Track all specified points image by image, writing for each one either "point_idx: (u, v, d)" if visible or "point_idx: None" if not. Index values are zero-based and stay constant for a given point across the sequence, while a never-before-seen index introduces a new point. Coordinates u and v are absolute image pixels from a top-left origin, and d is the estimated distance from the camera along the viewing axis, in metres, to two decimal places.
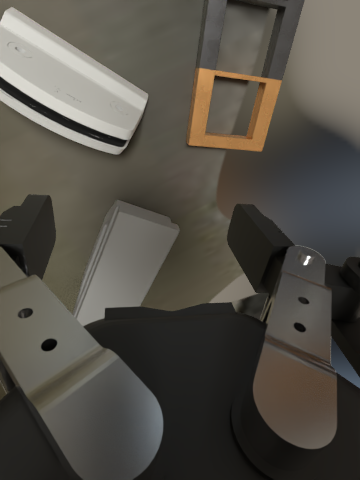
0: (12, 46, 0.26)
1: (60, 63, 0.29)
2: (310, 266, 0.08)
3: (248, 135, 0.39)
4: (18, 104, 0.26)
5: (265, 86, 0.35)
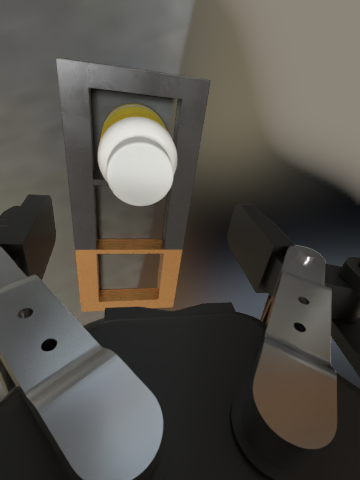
0: None
1: None
2: (310, 266, 0.08)
3: (157, 289, 0.34)
4: None
5: (163, 256, 0.30)
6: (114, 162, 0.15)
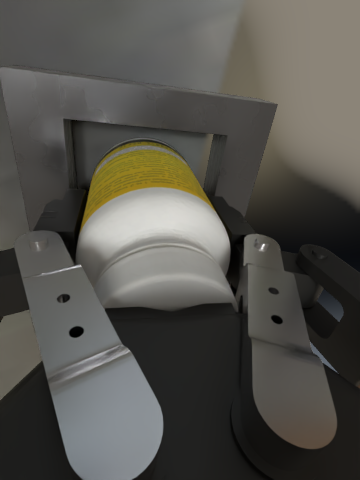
0: None
1: None
2: (263, 252, 0.09)
3: None
4: None
5: None
6: None
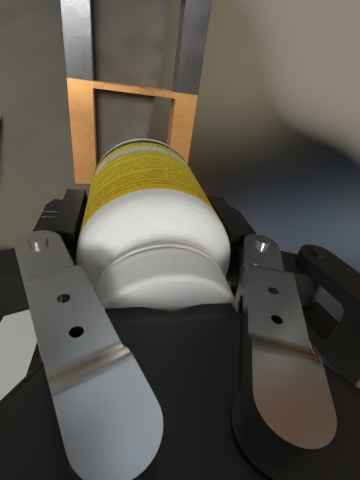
0: None
1: None
2: (263, 252, 0.09)
3: None
4: None
5: (174, 104, 0.24)
6: None
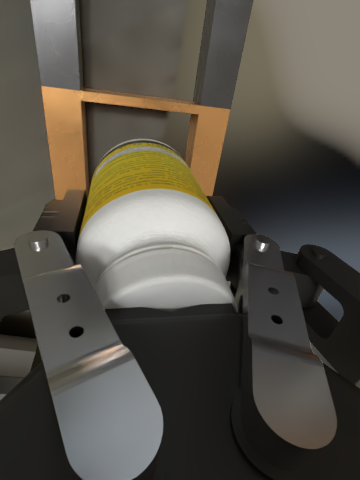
0: None
1: None
2: (263, 252, 0.09)
3: None
4: None
5: (197, 121, 0.17)
6: None
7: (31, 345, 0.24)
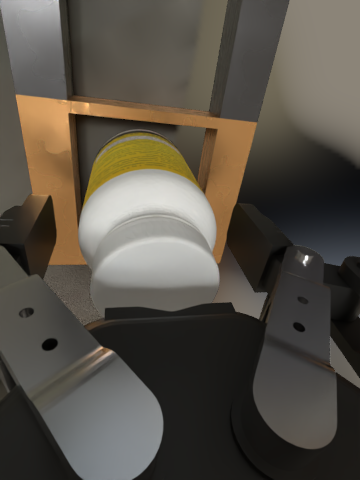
0: None
1: None
2: (309, 265, 0.08)
3: None
4: None
5: (216, 137, 0.14)
6: (104, 274, 0.07)
7: None
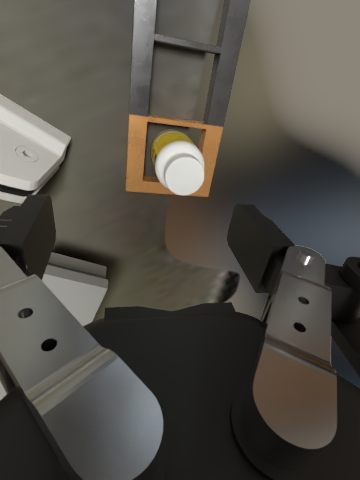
0: None
1: None
2: (310, 266, 0.08)
3: None
4: None
5: (205, 133, 0.32)
6: (170, 168, 0.26)
7: None
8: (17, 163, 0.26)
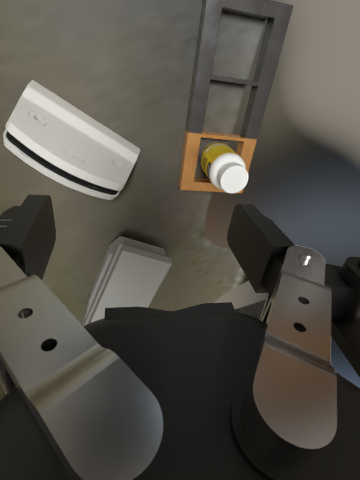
0: (31, 116, 0.33)
1: (69, 126, 0.36)
2: (310, 266, 0.08)
3: None
4: (33, 162, 0.33)
5: (243, 144, 0.42)
6: (225, 173, 0.36)
7: None
8: (111, 171, 0.36)
